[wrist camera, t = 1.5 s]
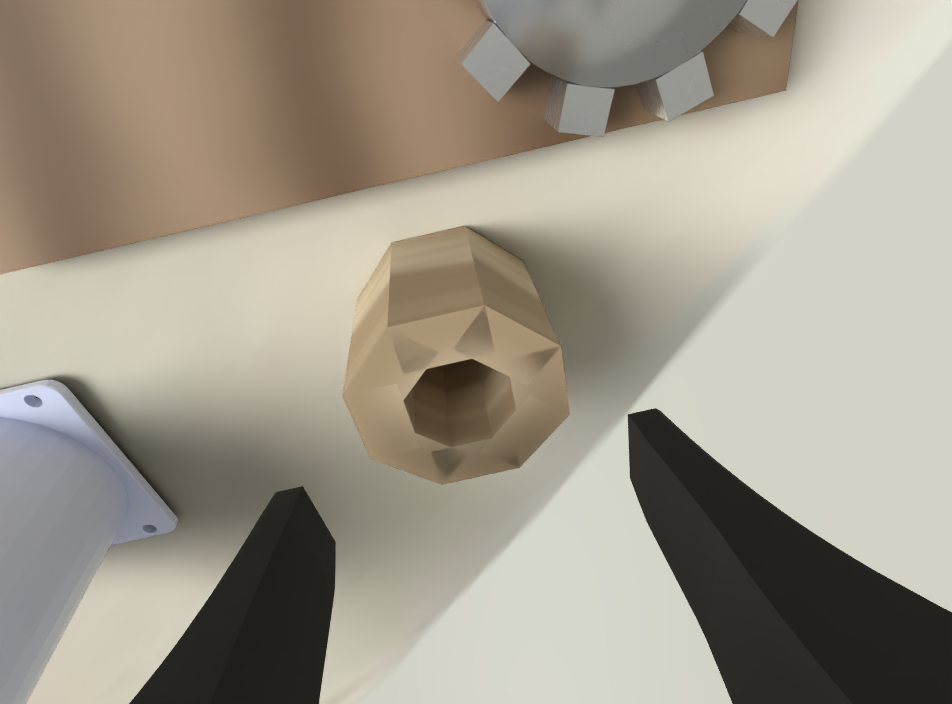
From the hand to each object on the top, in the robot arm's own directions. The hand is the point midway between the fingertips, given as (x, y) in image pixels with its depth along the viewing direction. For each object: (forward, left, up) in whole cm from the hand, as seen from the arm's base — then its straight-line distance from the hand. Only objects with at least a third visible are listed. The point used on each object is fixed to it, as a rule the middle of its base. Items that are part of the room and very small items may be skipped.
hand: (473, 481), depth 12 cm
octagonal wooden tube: (0, 0, -8) cm, 8 cm away
